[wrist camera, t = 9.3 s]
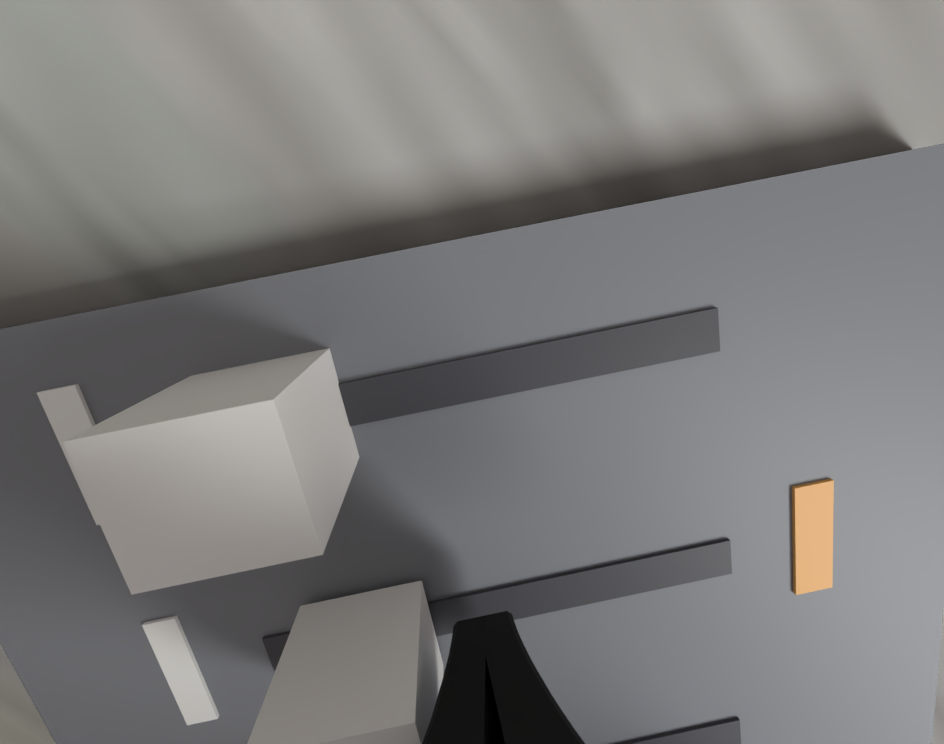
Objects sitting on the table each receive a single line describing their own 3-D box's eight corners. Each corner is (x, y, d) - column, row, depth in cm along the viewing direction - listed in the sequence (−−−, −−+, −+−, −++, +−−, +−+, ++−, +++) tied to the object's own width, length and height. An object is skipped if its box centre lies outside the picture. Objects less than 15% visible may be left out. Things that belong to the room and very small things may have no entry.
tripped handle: (443, 664, 12) (445, 829, 9) (328, 689, 12) (285, 863, 9) (421, 580, 12) (414, 722, 8) (300, 605, 12) (241, 759, 8)
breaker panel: (886, 715, 16) (1081, 919, 11) (186, 869, 16) (71, 1152, 11) (915, 149, 12) (1274, 75, 7) (-79, 345, 11) (-497, 423, 6)
